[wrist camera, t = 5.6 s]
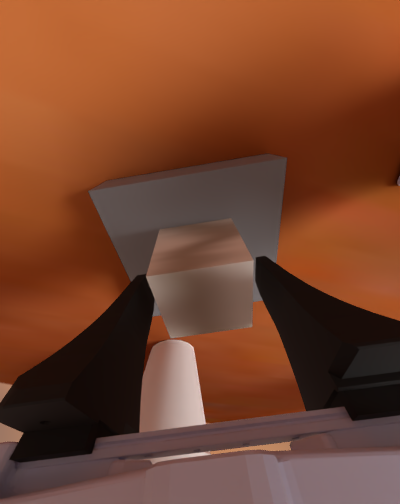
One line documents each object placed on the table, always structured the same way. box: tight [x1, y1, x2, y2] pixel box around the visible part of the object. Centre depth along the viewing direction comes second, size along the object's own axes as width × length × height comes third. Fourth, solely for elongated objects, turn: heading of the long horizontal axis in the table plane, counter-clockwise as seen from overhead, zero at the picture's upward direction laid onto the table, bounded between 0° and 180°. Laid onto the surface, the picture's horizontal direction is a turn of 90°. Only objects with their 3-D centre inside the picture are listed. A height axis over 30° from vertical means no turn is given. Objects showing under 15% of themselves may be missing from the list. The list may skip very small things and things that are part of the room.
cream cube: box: [146, 218, 254, 338], centre depth 12 cm, size 5×5×5 cm
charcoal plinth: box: [88, 154, 287, 316], centre depth 15 cm, size 12×12×3 cm
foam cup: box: [139, 340, 211, 464], centre depth 21 cm, size 10×9×13 cm
